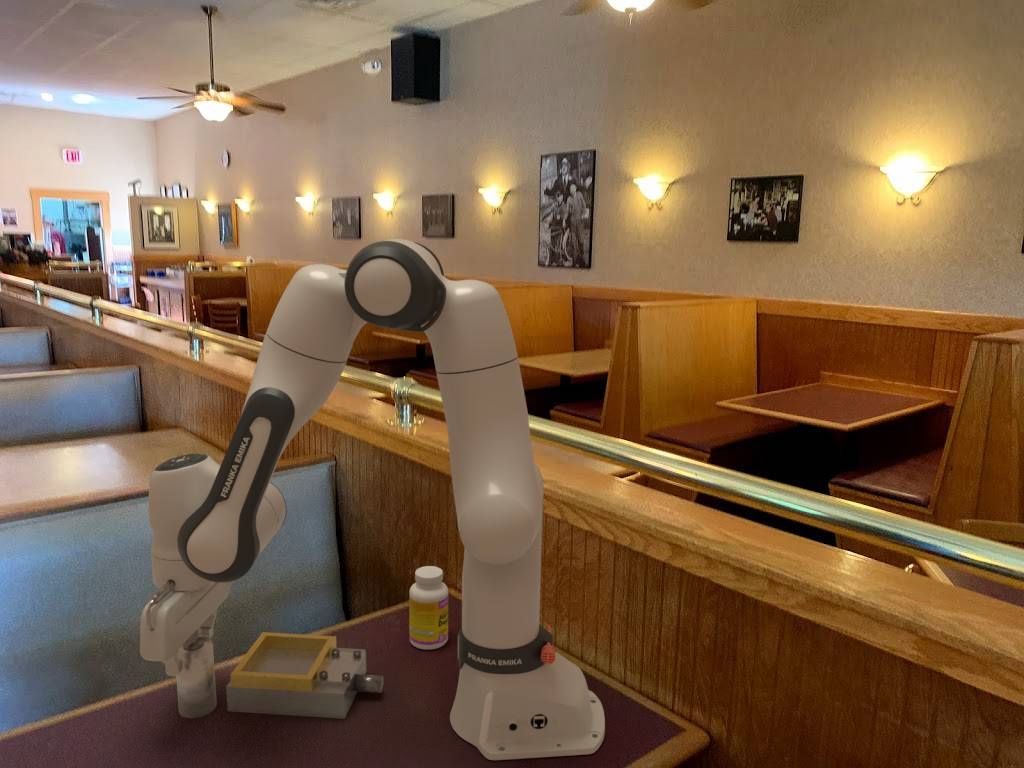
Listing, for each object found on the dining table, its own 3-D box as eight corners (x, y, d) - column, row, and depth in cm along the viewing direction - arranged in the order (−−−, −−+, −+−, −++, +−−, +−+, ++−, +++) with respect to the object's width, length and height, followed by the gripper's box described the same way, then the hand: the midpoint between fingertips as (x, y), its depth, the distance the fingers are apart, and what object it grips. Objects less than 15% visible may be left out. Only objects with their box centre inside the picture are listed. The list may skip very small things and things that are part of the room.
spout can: (222, 697, 117) (218, 633, 115) (206, 719, 112) (202, 652, 110) (175, 694, 117) (170, 630, 115) (157, 716, 112) (151, 649, 110)
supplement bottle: (441, 653, 130) (441, 582, 127) (404, 648, 131) (403, 578, 129) (452, 633, 136) (453, 565, 134) (416, 629, 138) (416, 561, 135)
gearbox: (390, 673, 124) (390, 639, 123) (371, 720, 112) (371, 683, 111) (259, 665, 125) (258, 631, 124) (227, 711, 114) (225, 674, 112)
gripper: (170, 602, 100) (176, 699, 102) (237, 540, 120) (240, 622, 122) (123, 599, 100) (130, 695, 103) (198, 537, 120) (202, 619, 123)
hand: (190, 655), depth 113 cm, fingers open, 8 cm apart
